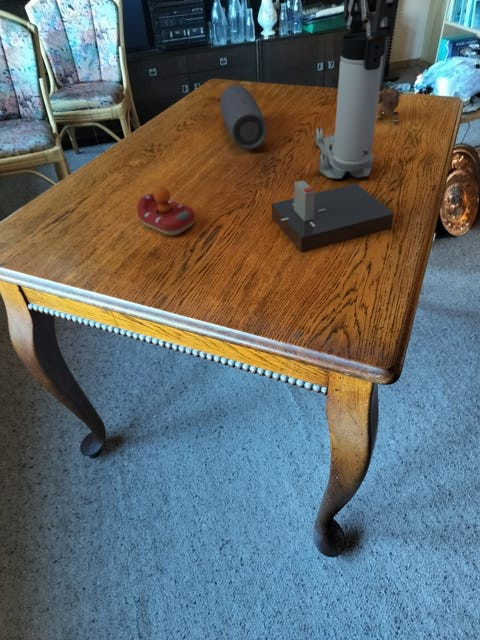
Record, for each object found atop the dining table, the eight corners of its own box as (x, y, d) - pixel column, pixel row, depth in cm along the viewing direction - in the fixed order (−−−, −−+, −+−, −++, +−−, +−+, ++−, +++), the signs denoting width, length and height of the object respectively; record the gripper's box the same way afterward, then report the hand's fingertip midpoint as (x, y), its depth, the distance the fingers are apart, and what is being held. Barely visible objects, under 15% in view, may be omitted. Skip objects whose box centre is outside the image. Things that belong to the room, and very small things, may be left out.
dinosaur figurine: (398, 128, 118) (404, 89, 112) (374, 127, 120) (379, 88, 113) (401, 109, 127) (407, 72, 121) (378, 108, 129) (383, 72, 123)
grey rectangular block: (293, 210, 85) (294, 180, 81) (302, 208, 86) (303, 178, 82) (304, 221, 82) (305, 191, 78) (313, 219, 82) (315, 189, 79)
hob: (354, 197, 94) (356, 182, 91) (391, 228, 84) (394, 212, 82) (267, 218, 90) (267, 203, 87) (296, 253, 80) (296, 237, 78)
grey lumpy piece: (358, 138, 115) (360, 117, 112) (376, 183, 97) (379, 160, 94) (312, 140, 116) (313, 119, 112) (322, 186, 98) (323, 163, 94)
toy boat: (160, 207, 95) (153, 172, 90) (202, 224, 89) (197, 187, 84) (132, 224, 91) (123, 188, 86) (174, 242, 85) (167, 205, 80)
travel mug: (375, 170, 78) (394, 32, 64) (335, 172, 78) (345, 35, 65) (368, 154, 82) (384, 22, 69) (330, 156, 83) (339, 25, 69)
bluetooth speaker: (270, 152, 112) (269, 108, 105) (231, 157, 111) (228, 113, 105) (253, 119, 129) (251, 80, 122) (220, 123, 128) (216, 84, 121)
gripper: (330, -83, 64) (323, 54, 75) (370, -80, 53) (355, 79, 64) (383, -88, 64) (368, 49, 76) (433, -86, 54) (407, 73, 65)
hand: (362, 62), depth 70 cm, fingers closed on travel mug, 6 cm apart
